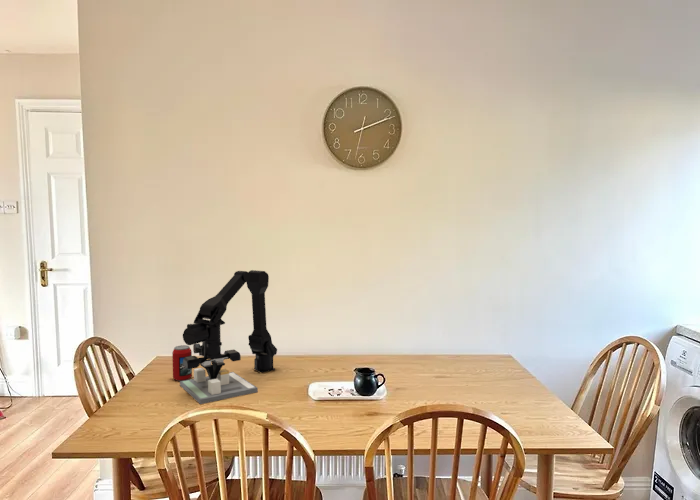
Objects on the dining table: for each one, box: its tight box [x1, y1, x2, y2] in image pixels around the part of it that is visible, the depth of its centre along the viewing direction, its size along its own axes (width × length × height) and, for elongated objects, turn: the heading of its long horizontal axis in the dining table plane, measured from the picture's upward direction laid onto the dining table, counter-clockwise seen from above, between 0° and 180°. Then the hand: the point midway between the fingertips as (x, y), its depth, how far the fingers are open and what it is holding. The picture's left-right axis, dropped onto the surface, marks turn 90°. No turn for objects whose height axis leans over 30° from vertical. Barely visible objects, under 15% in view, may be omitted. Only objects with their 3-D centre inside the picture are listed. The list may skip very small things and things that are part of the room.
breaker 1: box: [193, 367, 206, 383], centre depth 179 cm, size 3×4×4 cm
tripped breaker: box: [217, 368, 230, 385], centre depth 176 cm, size 3×4×4 cm
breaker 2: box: [208, 379, 221, 395], centre depth 166 cm, size 3×4×4 cm
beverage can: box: [172, 344, 193, 382], centre depth 185 cm, size 7×7×12 cm
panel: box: [179, 371, 259, 405], centre depth 175 cm, size 20×22×2 cm
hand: (212, 383), depth 174 cm, fingers closed
